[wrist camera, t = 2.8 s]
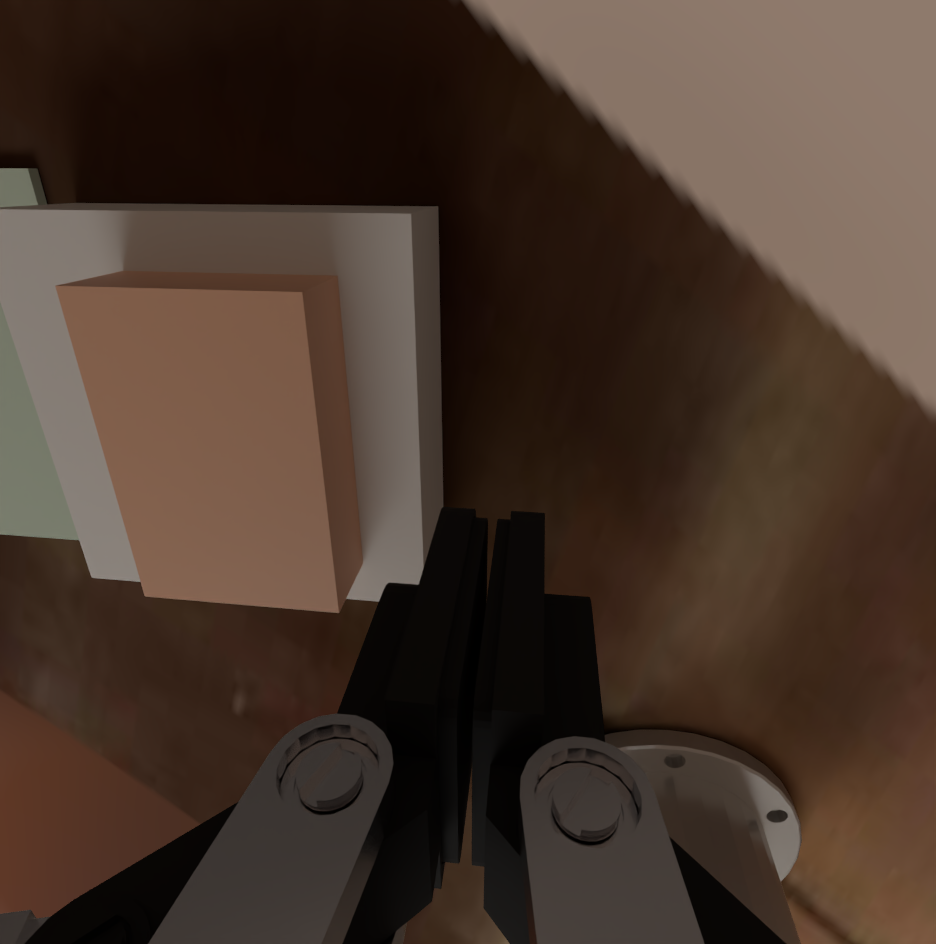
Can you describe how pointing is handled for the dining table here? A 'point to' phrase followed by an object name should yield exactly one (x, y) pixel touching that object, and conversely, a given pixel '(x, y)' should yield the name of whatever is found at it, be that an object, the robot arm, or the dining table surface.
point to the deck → (250, 252)
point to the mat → (25, 418)
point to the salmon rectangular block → (224, 431)
